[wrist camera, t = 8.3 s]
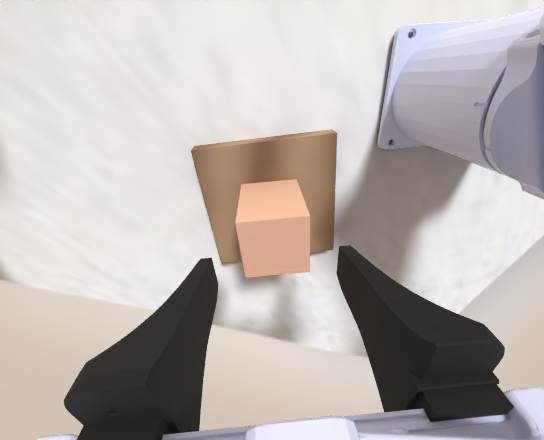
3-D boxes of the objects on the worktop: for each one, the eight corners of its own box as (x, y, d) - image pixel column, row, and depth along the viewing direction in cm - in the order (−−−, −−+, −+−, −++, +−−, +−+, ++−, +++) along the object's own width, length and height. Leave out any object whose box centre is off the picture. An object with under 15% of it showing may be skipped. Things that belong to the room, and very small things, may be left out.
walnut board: (329, 128, 20) (336, 132, 18) (327, 237, 25) (333, 249, 24) (196, 144, 20) (190, 150, 18) (223, 250, 25) (221, 262, 24)
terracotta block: (296, 178, 20) (310, 215, 14) (297, 225, 22) (310, 271, 17) (241, 184, 20) (235, 223, 14) (248, 230, 22) (245, 277, 17)
